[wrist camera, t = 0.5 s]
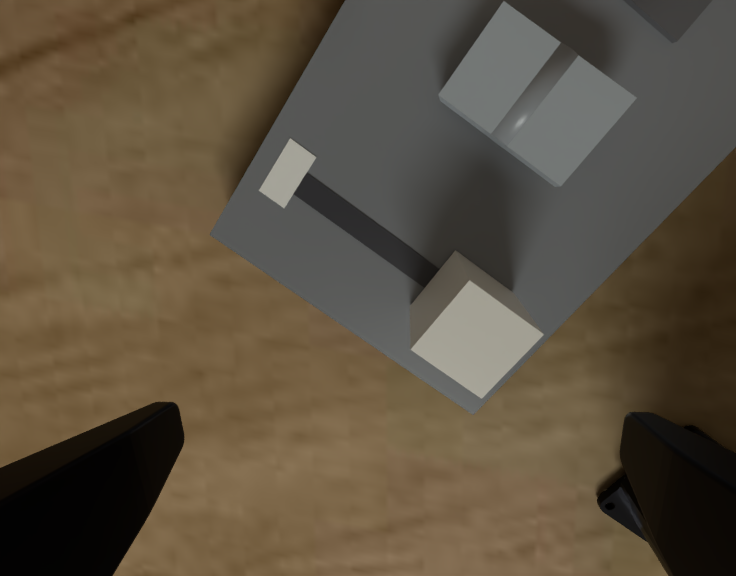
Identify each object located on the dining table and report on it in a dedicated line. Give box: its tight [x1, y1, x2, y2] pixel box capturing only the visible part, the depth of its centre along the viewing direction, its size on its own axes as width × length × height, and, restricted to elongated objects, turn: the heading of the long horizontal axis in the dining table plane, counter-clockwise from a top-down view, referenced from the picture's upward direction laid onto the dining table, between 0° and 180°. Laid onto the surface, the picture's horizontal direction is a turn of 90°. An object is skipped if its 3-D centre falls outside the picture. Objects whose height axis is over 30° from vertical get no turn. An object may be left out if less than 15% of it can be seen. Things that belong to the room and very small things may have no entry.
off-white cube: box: [410, 250, 544, 399], centre depth 16 cm, size 3×3×4 cm
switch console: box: [210, 0, 736, 415], centre depth 16 cm, size 14×22×3 cm, turn 145°
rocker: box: [438, 1, 637, 187], centre depth 14 cm, size 5×3×1 cm, turn 55°
